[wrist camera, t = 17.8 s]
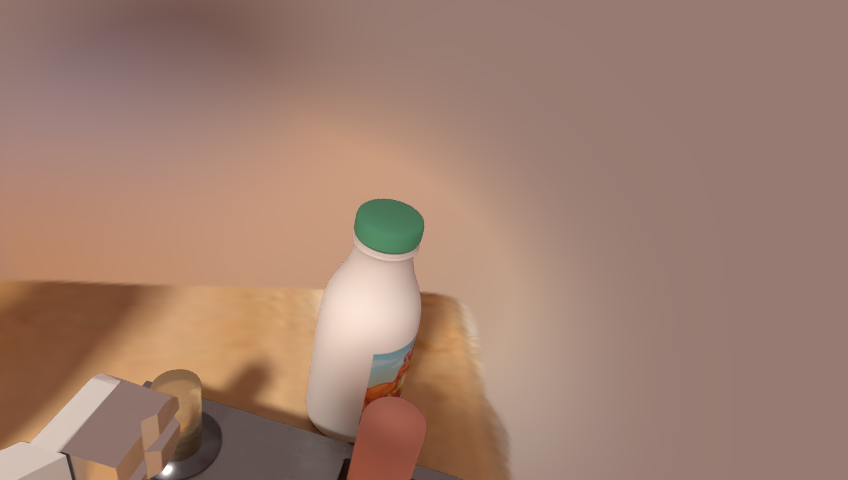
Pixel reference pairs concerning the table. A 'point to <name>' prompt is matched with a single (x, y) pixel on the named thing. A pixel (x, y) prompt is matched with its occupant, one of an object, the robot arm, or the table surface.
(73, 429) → the robot arm
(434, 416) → the table surface
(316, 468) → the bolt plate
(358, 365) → the milk bottle
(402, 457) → the red peg
